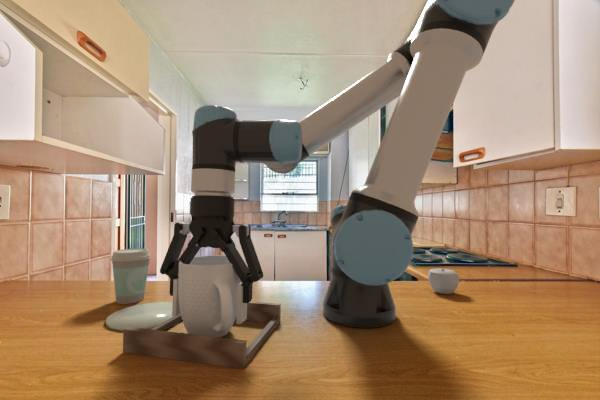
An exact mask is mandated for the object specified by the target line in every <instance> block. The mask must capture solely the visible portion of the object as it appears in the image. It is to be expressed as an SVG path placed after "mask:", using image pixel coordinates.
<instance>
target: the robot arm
mask: <svg viewBox="0 0 600 400" xmlns="http://www.w3.org/2000/svg"><path fill="white" fill-rule="evenodd" d="M515 1H516V0H427V2H426V4H425V6H424V8H423V10H422V12H421V14H420V16H419V18H418V20H417V23H416V25H415V27H414V28H413V30H412V31H411V33H410V35H409V36H408V37H407V39H405V41H404V42H403V43H402V44H401V45H400V46H399V47H397V48H396V49H394V50H393V51H392V52H390V53H389V55H388V56H387V61H386V62H384V63H383V64H382V65H380V66H378V67H377V68H375V69H373V70H372V71H371V72H370V73H368V74H367V75H365V76H364V77H362V78H361V79H358V80H357V81H356V82H355V83H353V84H352V85H351V86H348V88H346V89H345V90H343V91H341V92H340V93H339V94H337V95H336V96H334V97H333V98H331V99H329V100H328V101H327V102H325V103H323V104H322V105H321V106H319V107H318V108H317V109H315V110H314V111H312V112H310V113H309V114H307V115H306V116H304V117H303V118H301V119H300V120H299V121H297V120H292V119H291V120H289V119H283V118H278V119H249V120H248V119H247V120H245V119H244V120H242V119H238V118H237V117H238V116H237V113H236V112H235V110H233V109H231V108H229V107H226V106H222V105H221V106H220V105H219V106H218V105H215V104H214V105H213V104H207V105H203V106H202V105H201V106H199V108H197V109H196V111H195V112H194V117H193V126H192V130H191V131H192V132H191V135H192V164H191V165H192V166H191V180H190V181H191V182H190V185H191V186H190V191H191V192H192V193H194V195H192V197H190V207H189V208H190V209H189V210H190V212H189V213H190V216H191V220H190V223H188V222H187V221H184V222H183V221H180V222H176V223H174V227H173V235H172V237H171V238H172V239H171V241H170V244H169V247H168V249H167V252H166V254H165V256H164V258H163V261H162V264H161V266H160V270H159V273H160V274H161V275H165V276H167V277H168V278H169V296H171V297H172V302H173V307H172V316H174V317H176V316H178V315H180V314H181V313H180V308H179V299H178V298H179V296H178V277H179V276H178V273H179V261H182V263H183V264H188V265H189V264H190V262H191V261H192V260H193V258H194V257H196V256H197V253H199V251H200V250H201V249H202V248H208V247H209V248H212V249H218V248H219V250H220V251H221V253H224V256H226V257H227V259H228V260H229V262H230V264H231V263H232V267H233V268H234V270H235V272H236V273H237V275H238V277H239V278H240V280H241V282H242V283H240V284H238V285H237V317H236V319H235V321H236V322H235V323H236V325H242V324H243V323H244V322H245V321H247V320H246V319H247V303H249V302H250V301H253V300H252V299H253V288H254V287H253V284H254V283H257V282H259V280H261V279H263V278H264V271H263V270H262V266H261V263H260V260H259V257H258V254H257V252H256V248H255V246H254V243H253V240H252V236H251V234H252V233H251V232H252V231H251V229H252V227H251V225H250V224H248V223H246V224H240V225H238V224H237V225H236V224H235V222H234V217H235V198H234V197H233V196H232V195H234V193H235V191H236V188H235V187H236V185H235V184H236V164H237V163H240V164H241V163H242V164H243V163H247V164H263V165H265V166H266V167H267V168H268V169H270V170H271V171H272V172H274V173H277V174H281V175H282V174H283V175H286V174H289V173H291V172H293V171H294V170H295V169H296V168H297V167H298V165H299V164H300V163H301V162H303V161H304V160H306V159H307V158H308V157H310V156H311V155H313V154H314V153H316V152H317V151H319V150H320V149H321V148H323V147H325V146H326V145H328V144H329V143H331V142H332V141H334V140H336V139H337V138H339V137H340V136H342V135H343V134H345V133H346V132H347V131H349V130H351V129H352V128H353V127H356V125H358V124H360V123H361V122H363V121H364V120H366V119H367V118H368V117H369V118H370V116H372V115H373V114H375V113H376V112H378V111H379V110H381V109H382V108H384V107H386V106H387V105H388V104H390V103H391V102H393V101H394V100H395V99H397V102H396V104H395V106H394V109H393V112H392V114H391V117H390V119H389V122H388V125H387V127H386V129H385V132H384V134H383V136H382V139H381V142H380V144H379V147H378V150H377V152H376V154H375V157H374V159H373V161H372V165H371V166H370V169H369V171H368V174H367V176H366V179H365V182H364V184H363V185H362V186H360V187H357V188H355V189H353V190H351V193H350V195H349V197H348V200H347V203H346V204H339V205H337V206H334V207H333V209H332V212H331V218H330V223H331V275H330V276H331V277H330V279H329V284H328V286H327V289H326V292H325V296H324V299H323V302H322V313H323V316H324V317H325V318H327V319H328V320H329V321H332V322H334V323H336V324H339V325H343V326H347V327H354V328H366V329H367V328H371V329H372V328H379V327H380V328H381V327H385V326H388V325H390V324H392V323H394V322H395V320H396V319H397V318H396V313H397V312H396V304H395V301H394V299H393V295H392V292H391V289H390V286H389V283H391V282H393V281H396V279H398V278H399V277H401V276H402V275H403V274H404V273H405V271H406V270H407V269H408V267H409V265H410V263H411V262H412V258H413V254H414V244H413V237H412V235H413V232H414V229H415V226H416V224H417V222H418V220H419V217H420V214H419V213H418V210H417V208H416V205H415V200H416V198H417V195H418V193H419V190H420V188H421V186H422V184H423V183H422V182H423V180H424V178H425V175H426V173H427V170H428V168H429V166H430V163H431V160H432V158H433V155H434V153H435V150H436V148H437V145H438V142H439V139H440V138H441V135H442V133H443V131H444V127H445V125H446V123H447V120H448V118H449V115H450V112H451V110H452V107H453V105H454V102H455V101H456V98H457V95H458V92H459V90H460V89H461V88H460V87H461V85H462V83H463V79H464V77H465V75H466V72H468V71H470V70H472V69H474V68H475V67H477V66H478V65H479V64H480V62H481V61H482V58H483V56H484V53H485V51H486V49H487V47H488V44H489V42H490V39H491V37H492V34H493V32H494V30H495V28H496V26H497V25H498V23H499V22H500V21H501V20H504V18H505V17H506V16H507V15H508V13H509V11H510V9H511V8H512V6H513V5H514V3H515ZM189 233H190V234H191V235H192V237H191V239H190V240H189V241H188V243H187V246H186V248H185V250H184V251H183V248H184V245H185V242H186V240H187V238H188V234H189ZM234 233H235V235H236V237H237V238H238V242H239V245H240V248H241V250H242V254H243V256H244V259H243V257H242V256H241V254H240V252H239V251H238V249H237V247H236V244H235V241H234V240H233V238H232V236H233V235H234ZM182 251H183V252H182ZM181 253H182V254H181Z"/></svg>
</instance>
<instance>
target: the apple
mask: <svg viewBox="0 0 600 400" xmlns="http://www.w3.org/2000/svg"><path fill="white" fill-rule="evenodd" d="M427 277H428V283H429V285H430V287H431V288H432V289H433V291H434V292H435V293H437V294H441V295H442V294H443V295H450V294H453V293H455V291H456V290H457V289H458V286H459V283H460V278H459V275H458V273H457V272H456V271H455V270H453V269H449V268H443V267H442V268H441V267H437V268H436V267H435V268H431V269H429V271H428V274H427Z"/></svg>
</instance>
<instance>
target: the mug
mask: <svg viewBox="0 0 600 400" xmlns="http://www.w3.org/2000/svg"><path fill="white" fill-rule="evenodd" d="M178 276H179V277H178V296H179V298H178V299H179V308H180V313H181V316H182V320H183V321H182V323H183V326H184V329H185V331H186V332H187V334H195V335H204V336H212V337H221V338H224V337H225V336H227V335H228V333H229V332H230V331H231V329H232V327H233V326H234V325H235V324H234V323H235V321H236V316H237V285H238V284H240V283H242V282H241V280H240V278H239V277H238V275H237V273H236V272H235V270H234V268H233V267H232V263H231V264H230V262H229V260H228V259H227V257H226V255H223V254H221V255H220V254H219V255H218V254H216V255H202V256H201V255H200V256H195V257H194V258H193V260H192V261H191V262H190V264H189V265H188V264H183V263H182V261H179V273H178Z"/></svg>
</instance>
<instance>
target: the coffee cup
mask: <svg viewBox="0 0 600 400" xmlns="http://www.w3.org/2000/svg"><path fill="white" fill-rule="evenodd" d="M151 258H152V254H151V253H150V250H149V249H148V248H125V249H118V250H114V251H113V253H112V256H111V259H110V261H111V263H112V272H113V273H112V274H113V275H112V276H113V284H114V294H115V303H117V304H119V305H129V304H130V305H131V304H135V303H140V302H142V301H143V300H145V293H146V287H147V282H148V281H147V279H148V273H149V266H150V260H151Z"/></svg>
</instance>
